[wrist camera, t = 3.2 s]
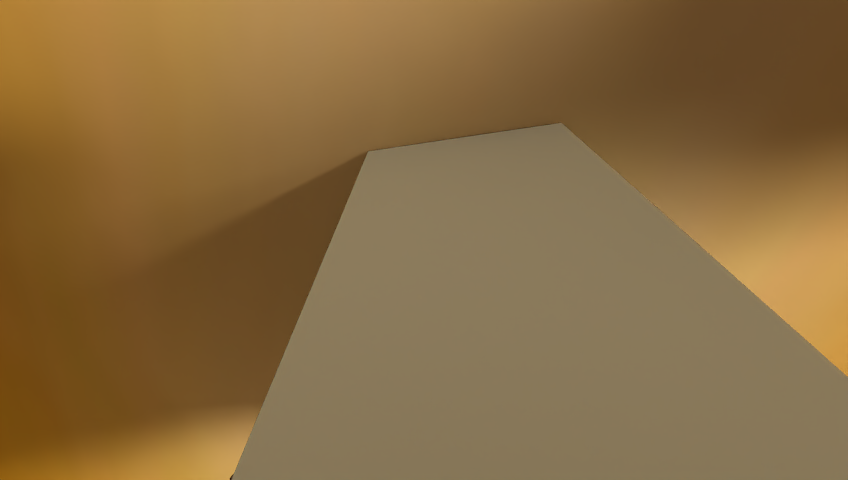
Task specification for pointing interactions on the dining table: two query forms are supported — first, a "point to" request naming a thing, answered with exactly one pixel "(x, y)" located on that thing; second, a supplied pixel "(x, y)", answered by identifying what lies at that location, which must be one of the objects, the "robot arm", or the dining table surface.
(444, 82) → the dining table surface
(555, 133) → the block
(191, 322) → the dining table surface
